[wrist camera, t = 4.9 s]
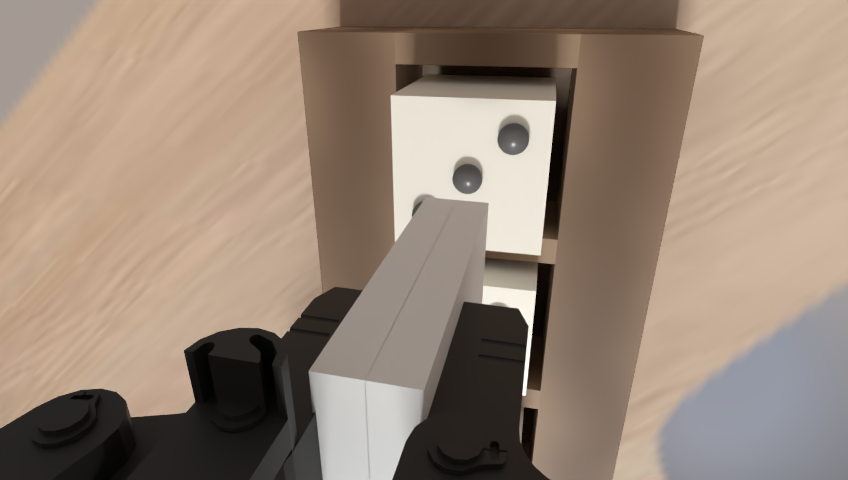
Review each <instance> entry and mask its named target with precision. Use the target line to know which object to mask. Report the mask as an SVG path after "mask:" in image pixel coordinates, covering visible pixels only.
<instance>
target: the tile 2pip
mask: <svg viewBox="0 0 848 480" xmlns="http://www.w3.org/2000/svg"><path fill="white" fill-rule="evenodd" d="M537 272H538V263H537V262H527V261H516V260H506V259H496V258H486V257H485V267H484V282H483V298H482V304H487V305H495V306H503V307H510V308H518V309H519V310H520V312H521V314H522V316H523V317H524V319H525V321H526V322H527V324H528V326H529V327H528V338H527V348H526V360H525V371H524V382H523V393H522V395H524V396H526V389H527V379H528V368H529V358H530V348H531V338H532V328H533V318H534V308H535V298H536V287H537Z"/></svg>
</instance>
